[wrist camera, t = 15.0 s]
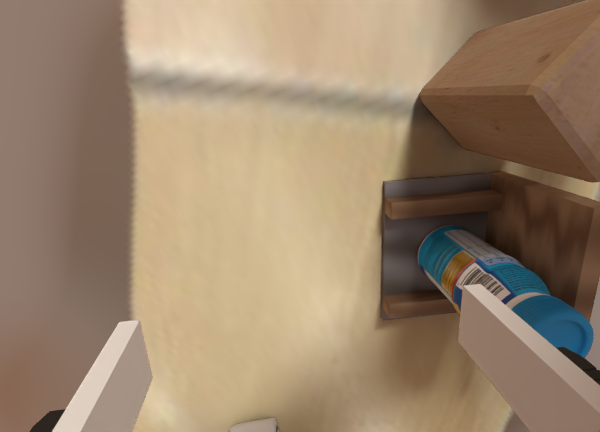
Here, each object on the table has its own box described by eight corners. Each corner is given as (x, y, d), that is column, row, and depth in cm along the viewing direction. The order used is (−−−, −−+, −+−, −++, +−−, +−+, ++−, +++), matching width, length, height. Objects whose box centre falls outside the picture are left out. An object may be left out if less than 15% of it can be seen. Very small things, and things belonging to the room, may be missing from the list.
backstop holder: (383, 181, 47) (442, 222, 32) (503, 171, 48) (615, 206, 33) (381, 317, 53) (430, 405, 38) (487, 305, 54) (575, 386, 39)
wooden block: (412, 95, 44) (529, 95, 25) (476, 28, 42) (651, -26, 23) (463, 152, 47) (601, 190, 28) (524, 91, 45) (715, 88, 26)
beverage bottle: (471, 214, 49) (606, 290, 30) (478, 269, 51) (606, 371, 32) (409, 233, 48) (506, 321, 30) (420, 287, 51) (514, 399, 32)
